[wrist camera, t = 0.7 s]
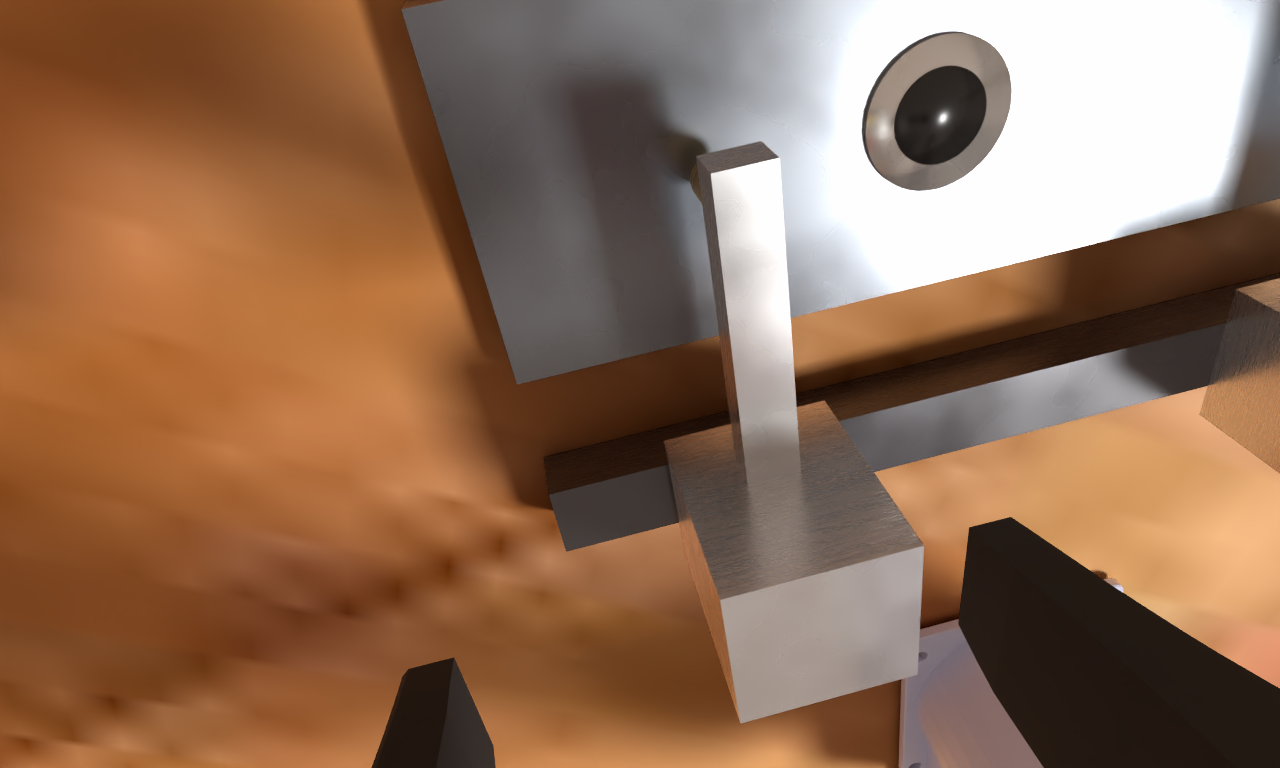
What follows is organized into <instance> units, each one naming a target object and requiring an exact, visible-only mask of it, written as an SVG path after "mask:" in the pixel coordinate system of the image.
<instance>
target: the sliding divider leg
mask: <svg viewBox="0 0 1280 768" xmlns="http://www.w3.org/2000/svg"><path fill="white" fill-rule="evenodd" d="M696 159H697V162H696V164H695V165H694V167H693V169H692V171H691V174H690V185H691V188H692V190H693V192H694V194H695V195H696V196H697V198H698V199H699V201H700V202H701V203H702V206H703V214H704V222H705V230H706V237H707V245H708V253H709V261H710V269H711V276H712V284H713V292H714V300H715V308H716V315H717V323H718V331H719V339H720V347H721V354H722V362H723V370H724V378H725V386H726V393H727V401H728V409H729V417H730V424H729V425H725V426H721V427H717V428H713V429H709V430H705V431H701V432H697V433H693V434H689V435H685V436H681V437H677V438H673V439H669V440H665V441H664V445H665V450H666V456H667V461H668V466H669V471H670V477H671V482H672V487H673V492H674V498H675V503H676V508H677V513H678V519H679V524H680V529H681V534H682V540H683V545H684V550H685V555H686V559H687V562H688V565H689V568H690V571H691V574H692V578H693V581H694V584H695V587H696V590H697V593H698V596H699V599H700V602H701V605H702V608H703V611H704V614H705V617H706V620H707V623H708V627H709V630H710V633H711V636H712V639H713V642H714V645H715V648H716V651H717V654H718V657H719V660H720V663H721V666H722V669H723V672H724V676H725V679H726V682H727V685H728V688H729V691H730V694H731V697H732V700H733V703H734V706H735V709H736V712H737V715H738V718H739V722H740V724H741V723H745V722H748V721H752V720H755V719H759V718H763V717H766V716H770V715H774V714H777V713H781V712H784V711H788V710H792V709H795V708H799V707H803V706H806V705H810V704H813V703H817V702H821V701H824V700H828V699H831V698H835V697H839V696H842V695H846V694H850V693H853V692H857V691H860V690H864V689H868V688H871V687H875V686H879V685H882V684H886V683H889V682H893V681H897V680H900V679H904V678H907V677H911V676H915V675H918V656H919V636H920V617H921V597H922V577H923V558H924V545H923V543H922V542H921V541H920V539H919V538H918V536H917V535H916V533H915V532H914V530H913V529H912V527H911V526H910V524H909V523H908V522H907V520H906V519H905V517H904V516H903V514H902V513H901V511H900V510H899V508H898V507H897V505H896V504H895V503H894V501H893V500H892V498H891V497H890V495H889V494H888V492H887V491H886V489H885V488H884V487H883V485H882V484H881V482H880V481H879V479H878V478H877V476H876V475H875V473H874V472H873V470H872V469H871V468H870V466H869V465H868V463H867V462H866V460H865V459H864V457H863V456H862V454H861V453H860V451H859V450H858V449H857V447H856V446H855V444H854V443H853V441H852V440H851V438H850V437H849V435H848V434H847V433H846V431H845V430H844V428H843V427H842V425H841V424H840V422H839V421H838V419H837V418H836V416H835V415H834V414H833V412H832V411H831V409H830V408H829V406H828V405H827V403H826V402H825V400H824V401H820V402H816V403H812V404H808V405H804V406H800V407H797V406H796V391H795V376H794V361H793V347H792V332H791V317H790V302H789V288H788V273H787V258H786V243H785V229H784V214H783V199H782V184H781V170H780V158H779V157H778V156H777V155H776V154H775V153H774V152H773V151H772V150H771V149H769V148H768V147H767V146H766V145H765V144H764V143H763V142H762V141H759V142H755V143H750V144H746V145H742V146H737V147H733V148H729V149H724V150H720V151H716V152H711V153H707V154H702V155H698V156H696Z"/></svg>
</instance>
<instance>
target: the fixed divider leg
mask: <svg viewBox="0 0 1280 768" xmlns="http://www.w3.org/2000/svg"><path fill="white" fill-rule="evenodd" d="M1200 415H1201V416H1202V417H1204V418H1205V419H1206V420H1208V421H1209V422H1211V423H1212V424H1213V425H1215V426H1216V427H1217V428H1219V429H1220V430H1221V431H1223V432H1224V433H1225V434H1227V435H1228V436H1230V437H1231V438H1232V439H1234V440H1235V441H1236V442H1238V443H1239V444H1240V445H1242V446H1243V447H1244V448H1246V449H1247V450H1249V451H1250V452H1251V453H1253V454H1254V455H1255V456H1257V457H1258V458H1259V459H1261V460H1262V461H1263V462H1265V463H1266V464H1268V465H1269V466H1270V467H1272V468H1273V469H1274V470H1276V471H1277V472H1278V473H1280V278H1278V279H1275V280H1271V281H1267V282H1263V283H1259V284H1255V285H1251V286H1247V287H1243V288H1239V289H1236V291H1235V294H1234V298H1233V301H1232V305H1231V308H1230V312H1229V315H1228V319H1227V322H1226V325H1225V329H1224V332H1223V336H1222V339H1221V343H1220V346H1219V350H1218V353H1217V356H1216V360H1215V363H1214V367H1213V370H1212V374H1211V377H1210V381H1209V384H1208V388H1207V391H1206V394H1205V398H1204V401H1203V405H1202V408H1201V412H1200Z"/></svg>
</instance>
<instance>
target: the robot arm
mask: <svg viewBox="0 0 1280 768" xmlns="http://www.w3.org/2000/svg"><path fill="white" fill-rule="evenodd" d="M372 768H495V758H494V748H493V744H492V742H491V740H490V737H489V735H488V733H487V731H486V728H485V726H484V724H483V722H482V719H481V717H480V715H479V713H478V710H477V708H476V706H475V704H474V701H473V699H472V697H471V695H470V692H469V690H468V688H467V686H466V683H465V681H464V679H463V677H462V674H461V672H460V670H459V668H458V665H457V663H456V661H455V659H454V658H450V659H446V660H442V661H439V662H435V663H431V664H427V665H423V666H419V667H415V668H411V669H408V670H407V672H406V673H405V674H404V675H403V677H402V680H401V683H400V686H399V690H398V693H397V696H396V699H395V702H394V705H393V708H392V711H391V714H390V717H389V720H388V723H387V726H386V729H385V732H384V735H383V738H382V741H381V743H380V746H379V749H378V752H377V754H376V757H375V760H374V763H373V765H372ZM899 768H1280V688H1278V687H1276V686H1274V685H1272V684H1271V683H1269V682H1267V681H1266V680H1264V679H1262V678H1260V677H1259V676H1257V675H1255V674H1254V673H1252V672H1250V671H1248V670H1247V669H1245V668H1243V667H1242V666H1240V665H1238V664H1236V663H1235V662H1233V661H1231V660H1229V659H1228V658H1226V657H1224V656H1223V655H1221V654H1219V653H1217V652H1216V651H1214V650H1213V649H1211V648H1209V647H1208V646H1206V645H1204V644H1203V643H1201V642H1199V641H1198V640H1196V639H1195V638H1193V637H1191V636H1190V635H1188V634H1187V633H1185V632H1183V631H1182V630H1180V629H1179V628H1177V627H1176V626H1174V625H1172V624H1171V623H1169V622H1168V621H1166V620H1165V619H1163V618H1161V617H1160V616H1158V615H1157V614H1155V613H1154V612H1152V611H1150V610H1149V609H1147V608H1146V607H1144V606H1143V605H1141V604H1139V603H1138V602H1136V601H1135V600H1133V599H1132V598H1130V597H1129V596H1127V595H1126V594H1124V593H1123V587H1122V586H1121V585H1120V584H1119V583H1118V582H1117V581H1116V580H1115V579H1112V578H1108V579H1102V578H1100V577H1099V576H1097V575H1096V574H1094V573H1093V572H1091V571H1090V570H1088V569H1087V568H1085V567H1084V566H1082V565H1081V564H1079V563H1078V562H1077V561H1075V560H1074V559H1072V558H1071V557H1069V556H1068V555H1066V554H1065V553H1063V552H1062V551H1060V550H1059V549H1057V548H1056V547H1054V546H1053V545H1052V544H1050V543H1049V542H1047V541H1046V540H1044V539H1043V538H1041V537H1040V536H1038V535H1037V534H1035V533H1034V532H1032V531H1031V530H1029V529H1028V528H1026V527H1025V526H1023V525H1022V524H1020V523H1019V522H1017V521H1016V520H1015V519H1013V518H1011V517H1009V518H1005V519H1001V520H997V521H993V522H989V523H985V524H981V525H977V526H973V527H969V535H968V543H967V552H966V561H965V569H964V578H963V587H962V595H961V604H960V613H959V619H956V620H953V621H949V622H945V623H942V624H938V625H934V626H931V627H927V628H923V629H920V636H919V656H918V675H915V676H911V677H907V678H904V679H901V708H900V739H899Z"/></svg>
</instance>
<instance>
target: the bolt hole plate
mask: <svg viewBox="0 0 1280 768" xmlns="http://www.w3.org/2000/svg"><path fill="white" fill-rule="evenodd" d="M401 10H402V14H403V17H404V20H405V23H406V26H407V30H408V33H409V36H410V39H411V43H412V46H413V49H414V52H415V56H416V59H417V62H418V65H419V69H420V72H421V75H422V78H423V82H424V85H425V88H426V91H427V95H428V98H429V101H430V104H431V108H432V111H433V114H434V117H435V120H436V124H437V127H438V130H439V133H440V137H441V140H442V143H443V146H444V150H445V153H446V156H447V159H448V163H449V166H450V169H451V172H452V176H453V179H454V182H455V185H456V189H457V192H458V195H459V198H460V202H461V205H462V208H463V211H464V215H465V218H466V221H467V224H468V227H469V231H470V234H471V237H472V240H473V244H474V247H475V250H476V253H477V257H478V260H479V263H480V266H481V270H482V273H483V276H484V279H485V283H486V286H487V289H488V292H489V296H490V299H491V302H492V305H493V309H494V312H495V315H496V318H497V321H498V325H499V328H500V331H501V334H502V338H503V341H504V344H505V347H506V351H507V354H508V357H509V360H510V364H511V367H512V370H513V373H514V377H515V380H516V383H517V385H518V384H522V383H526V382H530V381H534V380H538V379H542V378H546V377H550V376H555V375H559V374H563V373H567V372H571V371H575V370H579V369H583V368H587V367H591V366H595V365H600V364H604V363H608V362H612V361H616V360H620V359H624V358H628V357H632V356H636V355H641V354H645V353H649V352H653V351H657V350H661V349H665V348H669V347H673V346H677V345H682V344H686V343H690V342H694V341H698V340H702V339H706V338H710V337H714V336H718V335H719V331H718V323H717V315H716V308H715V300H714V292H713V284H712V276H711V269H710V261H709V253H708V245H707V237H706V230H705V222H704V214H703V206H702V203H701V202H700V201H699V199H698V198H697V196H696V195H695V194H694V192H693V190H692V188H691V185H690V174H691V171H692V169H693V167H694V165H695V164H696V162H697V159H696V156H698V155H702V154H707V153H711V152H716V151H720V150H724V149H729V148H733V147H737V146H742V145H746V144H750V143H755V142H759V141H762V142H763V143H764V144H765V145H766V146H767V147H768V148H769V149H771V150H772V151H773V152H774V153H775V154H776V155H777V156H778V157H779V158H780V170H781V184H782V199H783V214H784V229H785V243H786V258H787V273H788V288H789V302H790V317H791V318H792V317H796V316H800V315H804V314H809V313H813V312H817V311H821V310H825V309H829V308H833V307H837V306H841V305H845V304H849V303H854V302H858V301H862V300H866V299H870V298H874V297H878V296H882V295H886V294H890V293H895V292H899V291H903V290H907V289H911V288H915V287H919V286H923V285H927V284H931V283H936V282H940V281H944V280H948V279H952V278H956V277H960V276H964V275H968V274H972V273H976V272H981V271H985V270H989V269H993V268H997V267H1001V266H1005V265H1009V264H1013V263H1017V262H1022V261H1026V260H1030V259H1034V258H1038V257H1042V256H1046V255H1050V254H1054V253H1058V252H1062V251H1067V250H1071V249H1075V248H1079V247H1083V246H1087V245H1091V244H1095V243H1099V242H1103V241H1108V240H1112V239H1116V238H1120V237H1124V236H1128V235H1132V234H1136V233H1140V232H1144V231H1149V230H1153V229H1157V228H1161V227H1165V226H1169V225H1173V224H1177V223H1181V222H1185V221H1189V220H1194V219H1198V218H1202V217H1206V216H1210V215H1214V214H1218V213H1222V212H1226V211H1230V210H1235V209H1239V208H1243V207H1247V206H1251V205H1255V204H1259V203H1263V202H1267V201H1271V200H1276V199H1280V0H410V1H405V2H404V4H403V7H402V9H401Z"/></svg>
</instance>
